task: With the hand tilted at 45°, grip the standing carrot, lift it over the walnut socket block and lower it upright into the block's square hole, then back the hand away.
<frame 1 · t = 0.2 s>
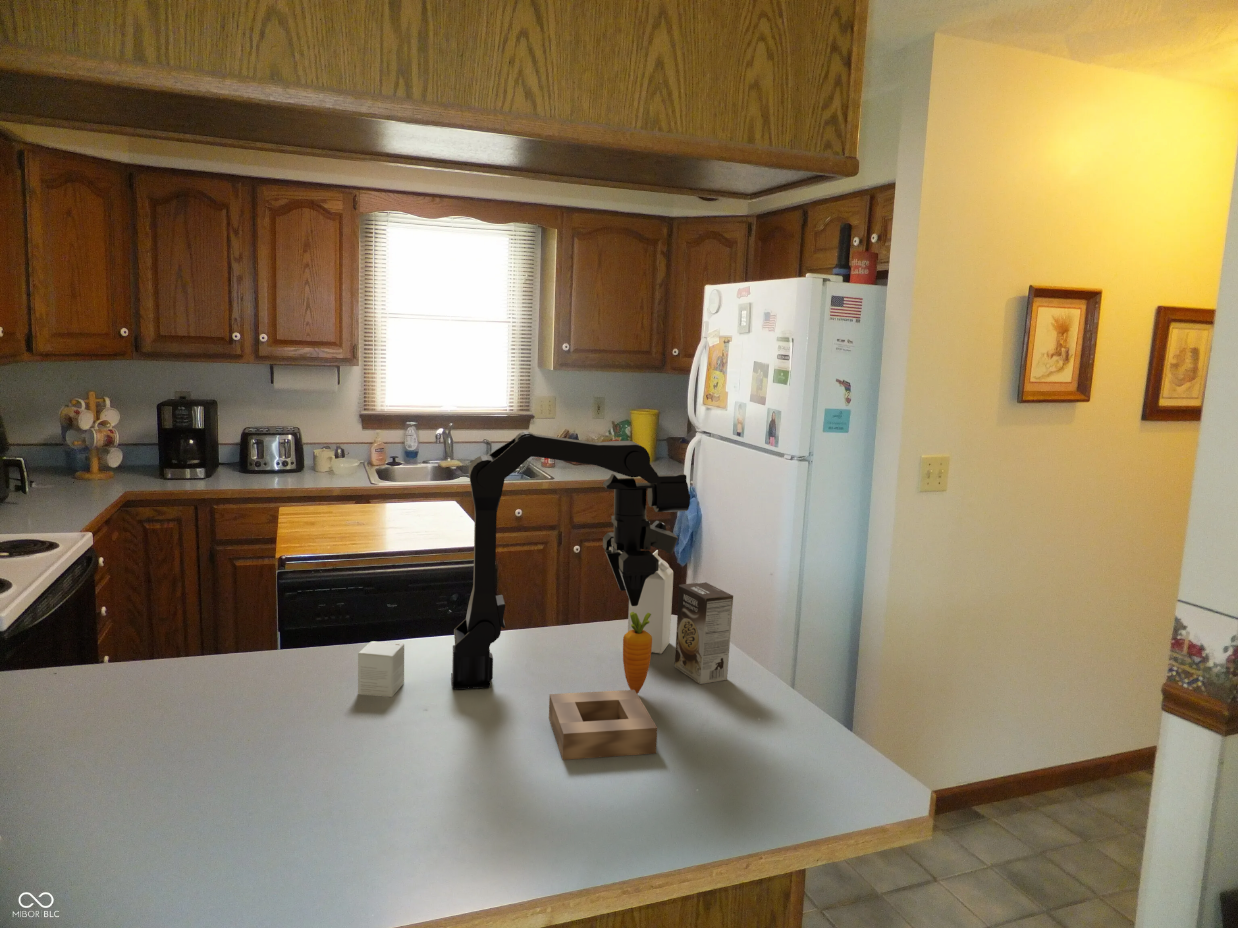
hand: (628, 597, 154), 15 cm above the kitchen counter, tool pointing down, fingers open, 9 cm apart
product box: (381, 690, 146), on the kitchen counter
coffee box: (700, 674, 159), on the kitchen counter
milk carton: (648, 647, 172), on the kitchen counter
carrot: (634, 695, 148), on the kitchen counter
walnut socket block: (600, 734, 132), on the kitchen counter
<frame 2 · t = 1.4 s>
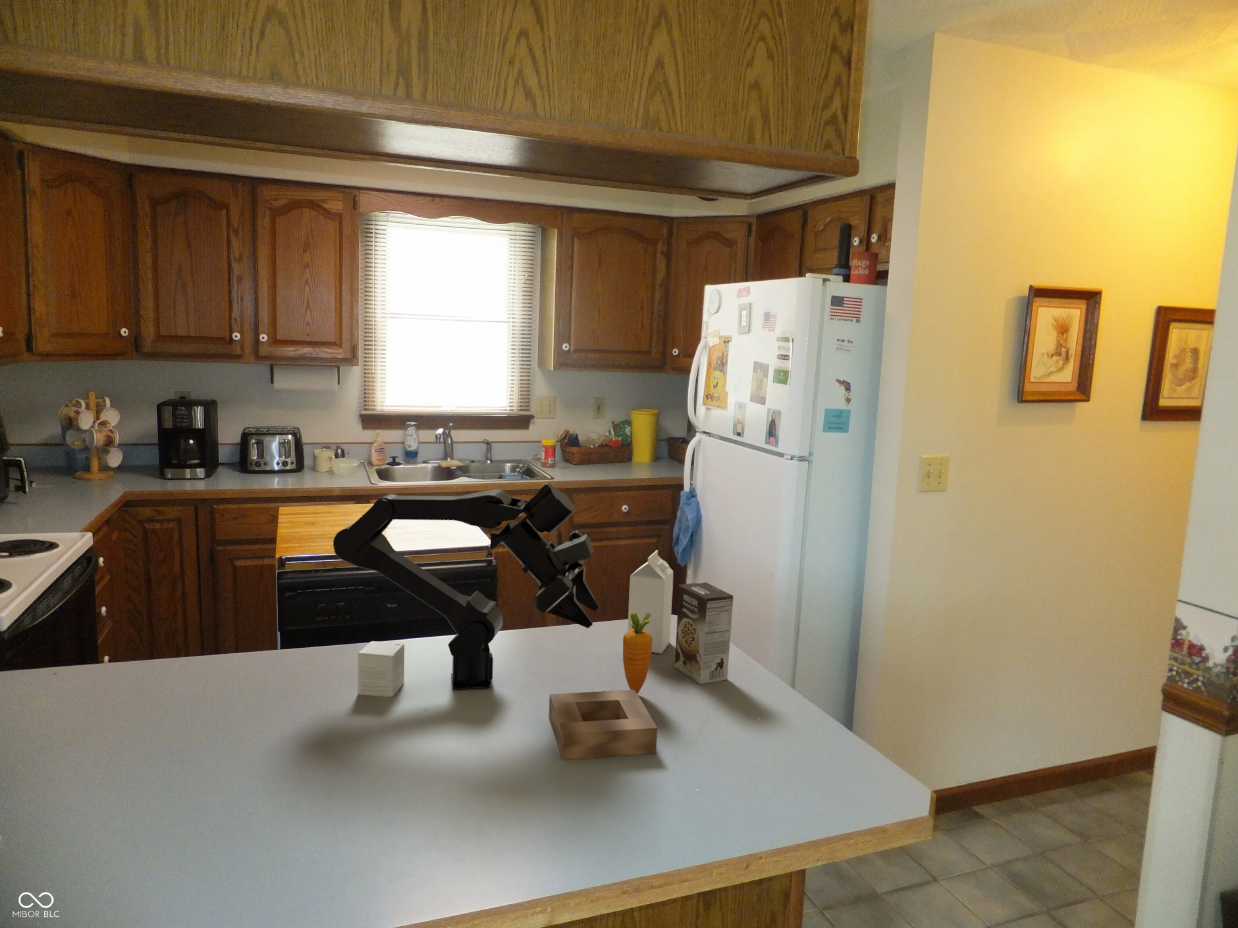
hand: (593, 617, 146), 13 cm above the kitchen counter, tool tilted 45°, fingers open, 9 cm apart
nothing on the kitchen counter moved.
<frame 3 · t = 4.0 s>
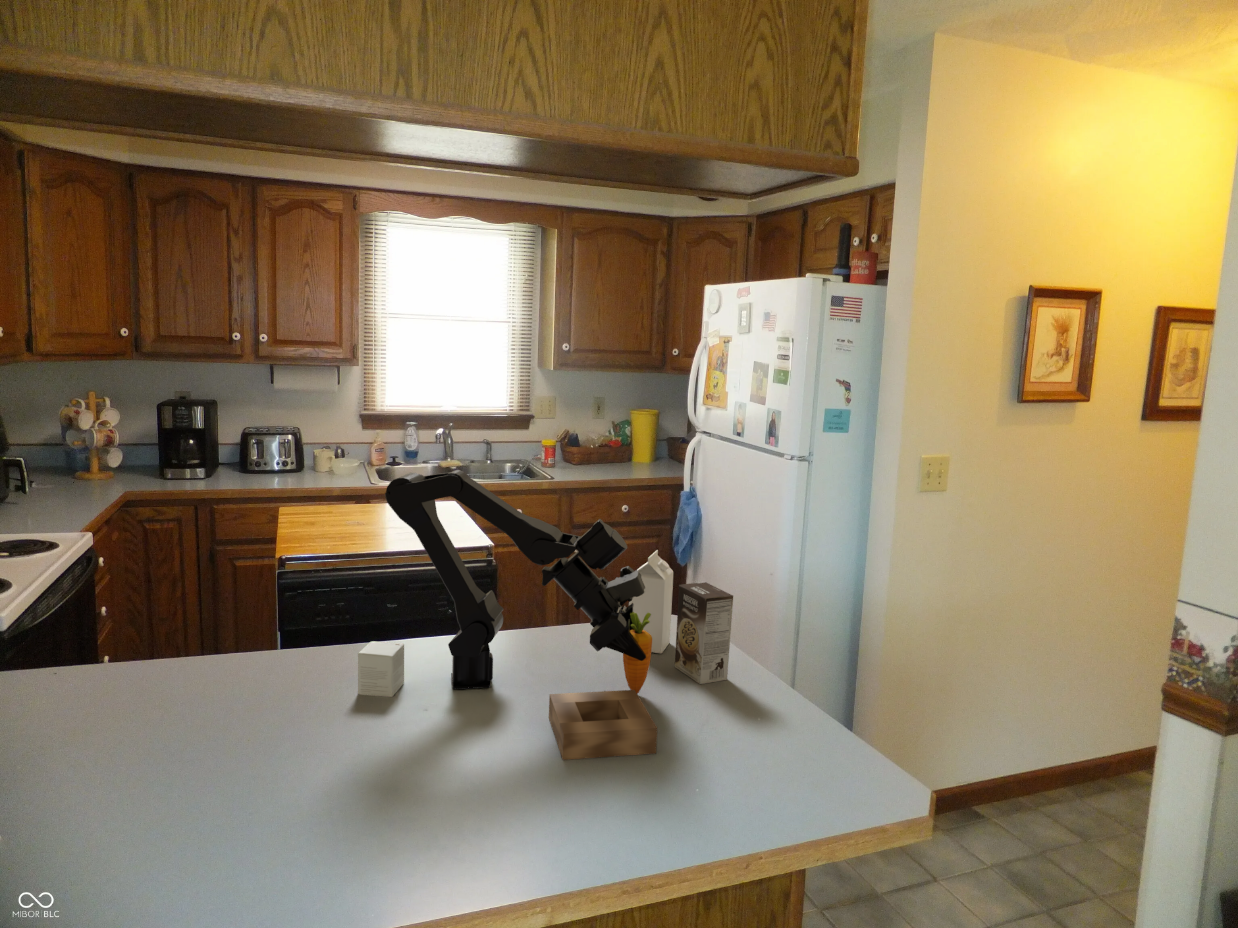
hand: (645, 653, 146), 8 cm above the kitchen counter, tool tilted 45°, fingers closed on carrot, 5 cm apart
carrot: (635, 695, 148), on the kitchen counter, touching gripper
everything else where it was.
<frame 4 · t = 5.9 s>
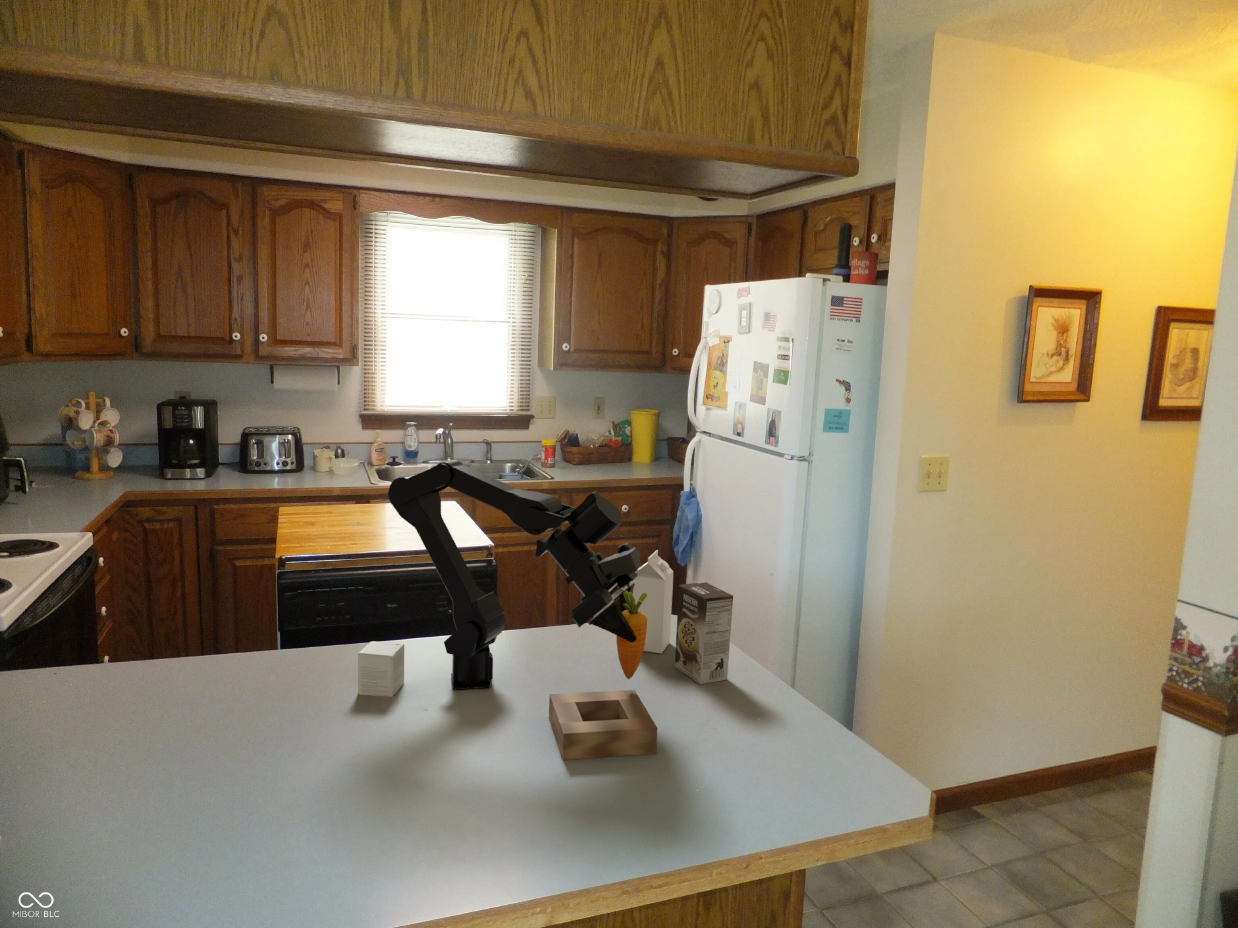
hand: (639, 635, 138), 13 cm above the kitchen counter, tool tilted 45°, fingers closed on carrot, 5 cm apart
carrot: (628, 679, 140), point 5 cm above the kitchen counter, touching gripper
everything else where it was.
when the fingers open (9 cm above the kitchen counter, at t = 8.2 s): carrot drops 1 cm, resting in walnut socket block.
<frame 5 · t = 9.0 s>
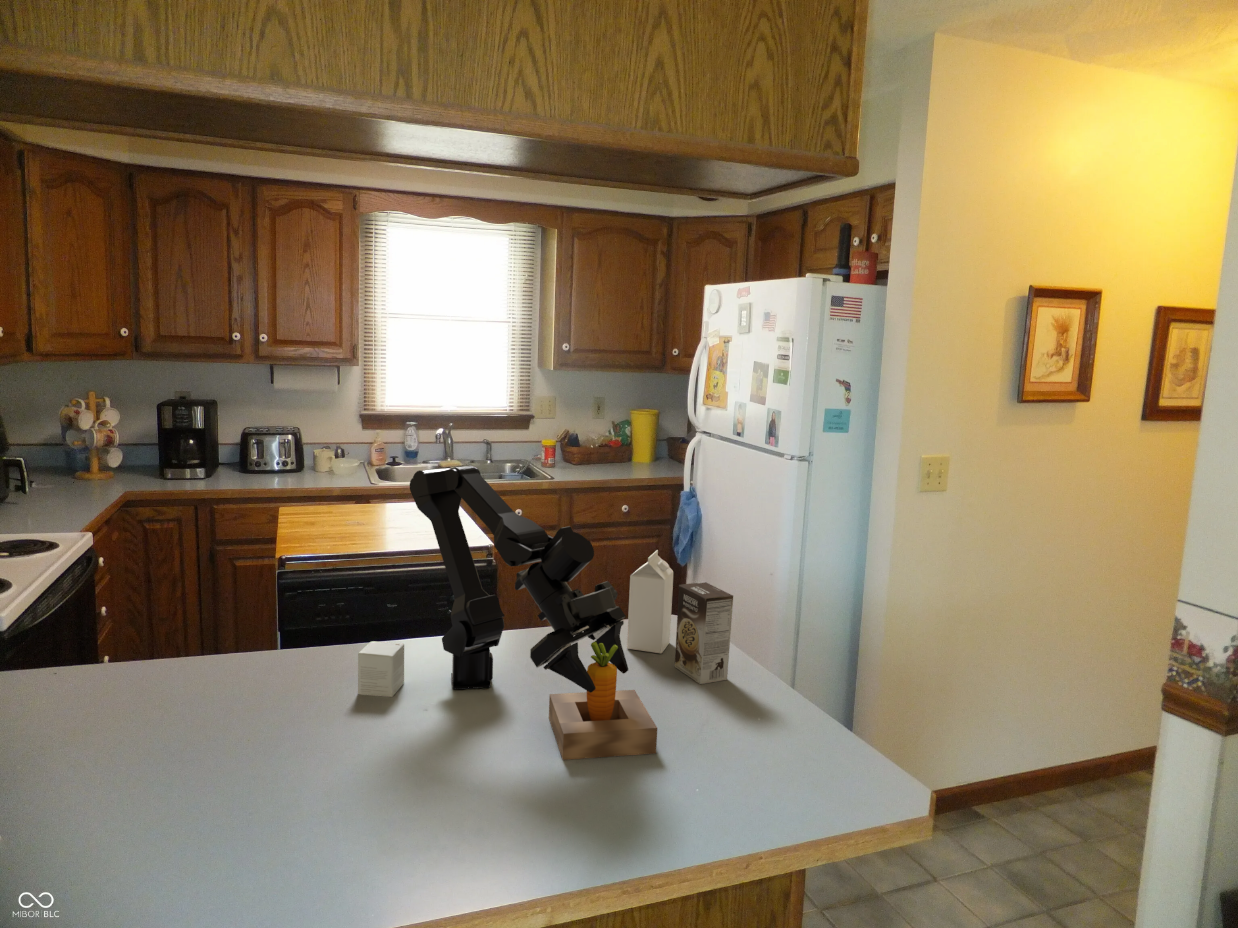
hand: (610, 681, 130), 9 cm above the kitchen counter, tool tilted 45°, fingers open, 9 cm apart
carrot: (599, 735, 132), resting in walnut socket block
everything else where it was.
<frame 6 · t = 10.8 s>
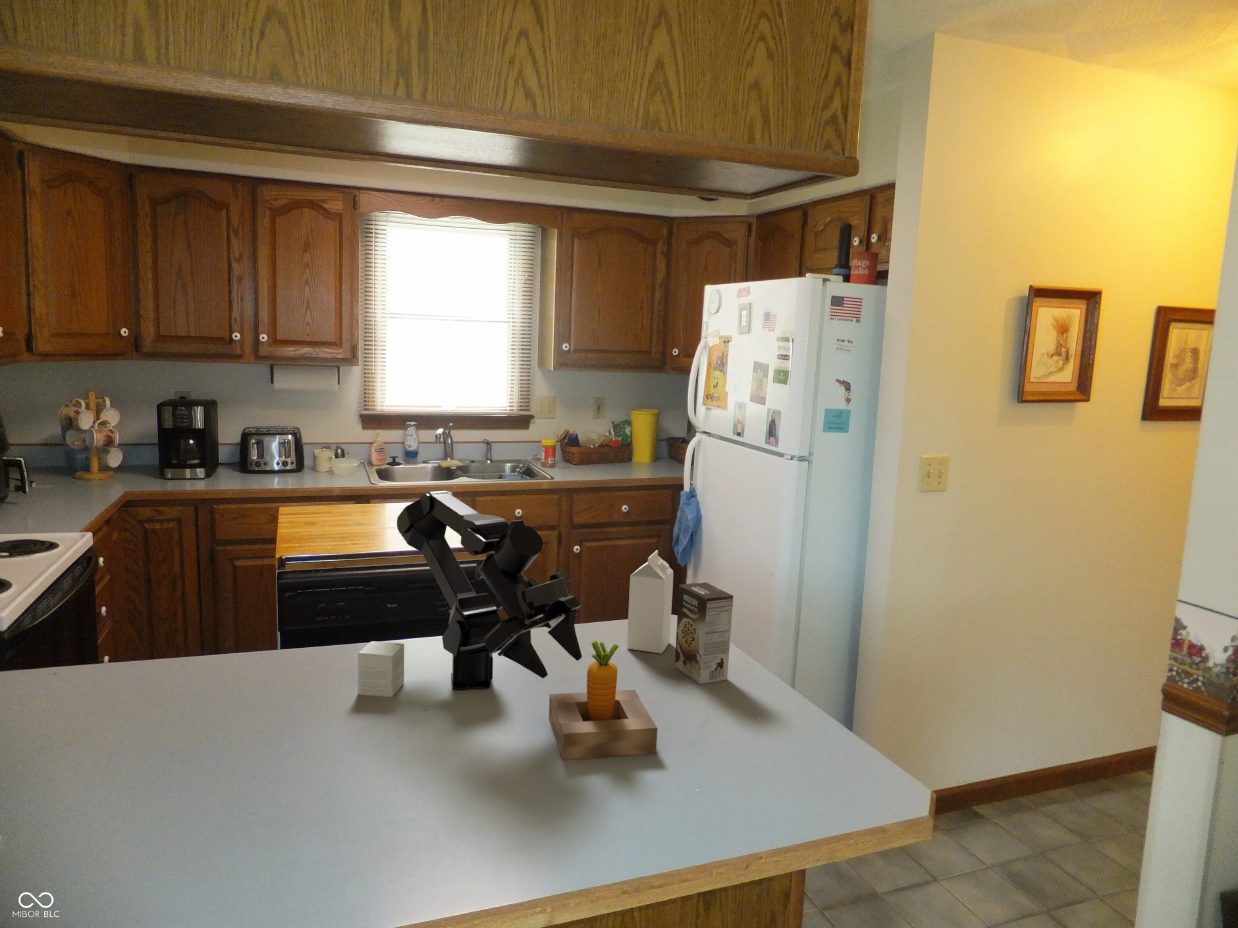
hand: (563, 667, 135), 9 cm above the kitchen counter, tool tilted 45°, fingers open, 9 cm apart
nothing on the kitchen counter moved.
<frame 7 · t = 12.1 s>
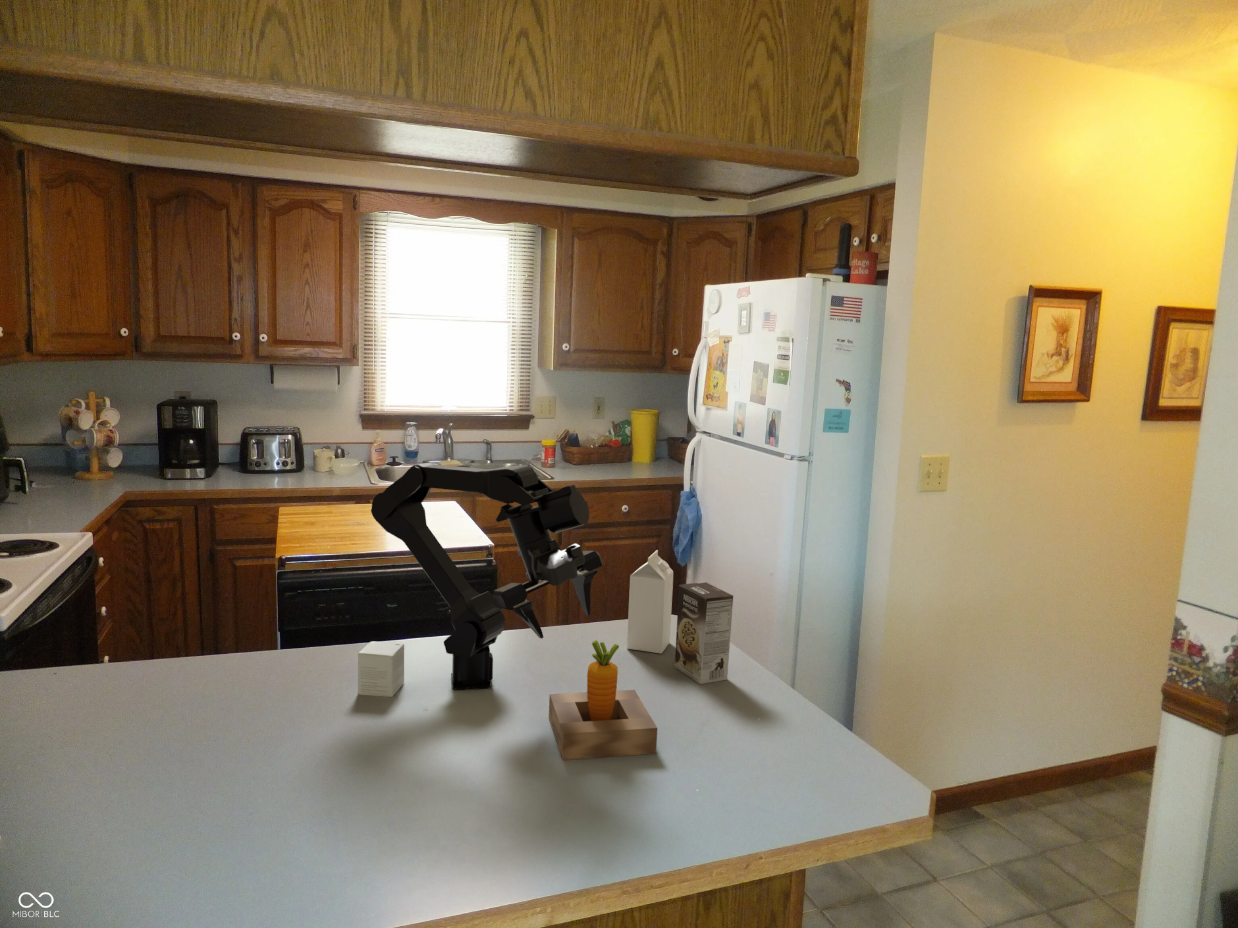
hand: (565, 626, 143), 13 cm above the kitchen counter, tool tilted 20°, fingers open, 9 cm apart
nothing on the kitchen counter moved.
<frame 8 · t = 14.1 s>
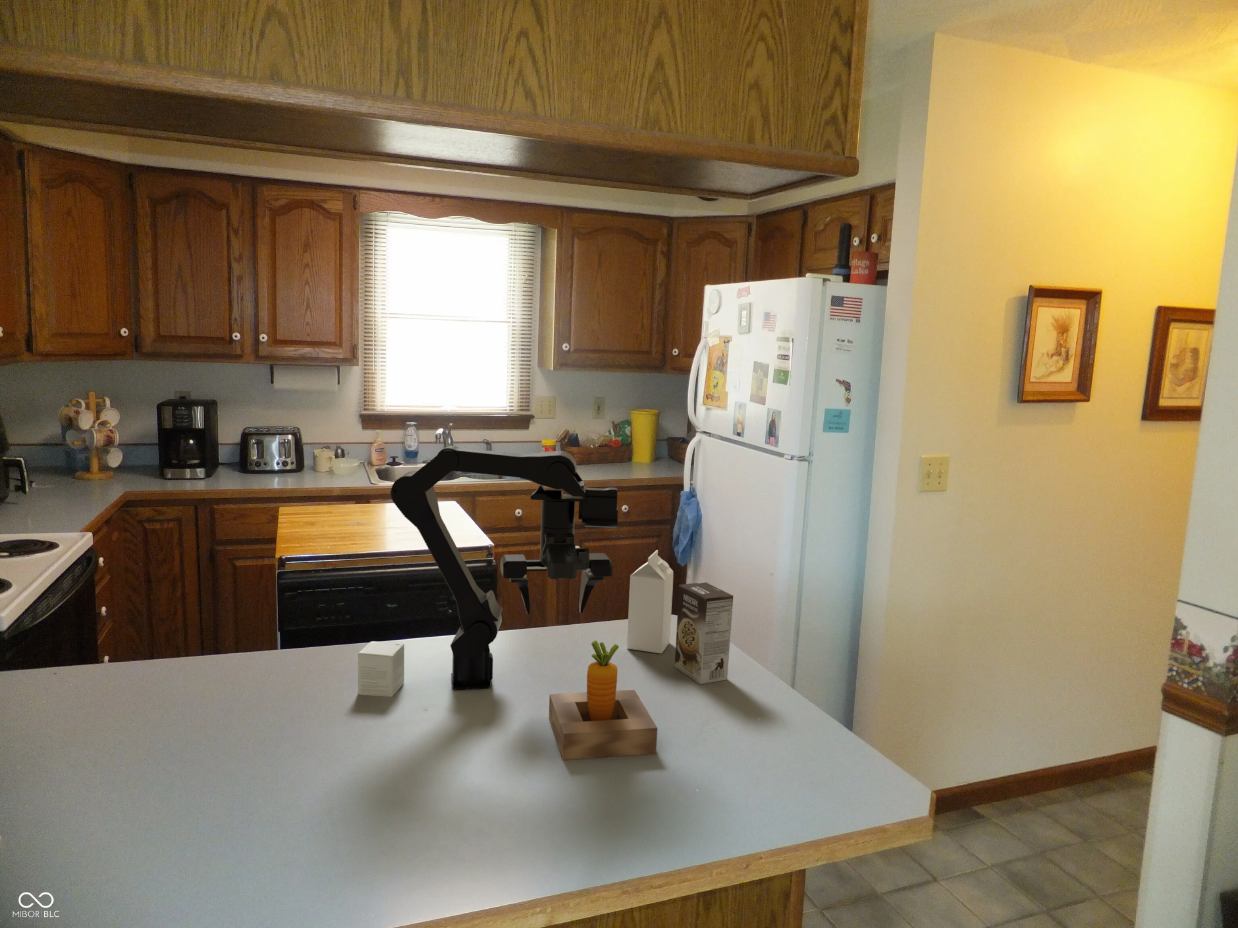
hand: (554, 613, 148), 13 cm above the kitchen counter, tool pointing down, fingers open, 9 cm apart
nothing on the kitchen counter moved.
at the end: carrot 0.3 cm off-centre on the walnut socket block, point 0.0 cm above the walnut socket block's base; carrot tilted 1°; the gripper is holding nothing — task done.
